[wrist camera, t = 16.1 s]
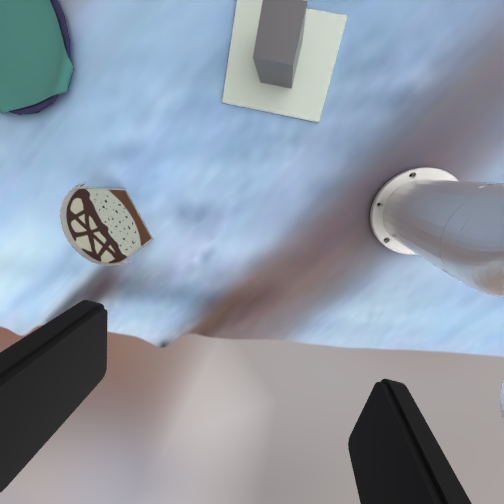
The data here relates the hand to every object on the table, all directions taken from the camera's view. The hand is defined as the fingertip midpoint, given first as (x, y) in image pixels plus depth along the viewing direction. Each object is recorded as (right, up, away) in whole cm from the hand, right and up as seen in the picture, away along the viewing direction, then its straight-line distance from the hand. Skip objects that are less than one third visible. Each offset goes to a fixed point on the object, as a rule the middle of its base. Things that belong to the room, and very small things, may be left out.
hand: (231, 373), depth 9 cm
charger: (+5, +29, +25) cm, 39 cm away
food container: (-21, +10, +35) cm, 42 cm away
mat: (+5, +29, +25) cm, 39 cm away
